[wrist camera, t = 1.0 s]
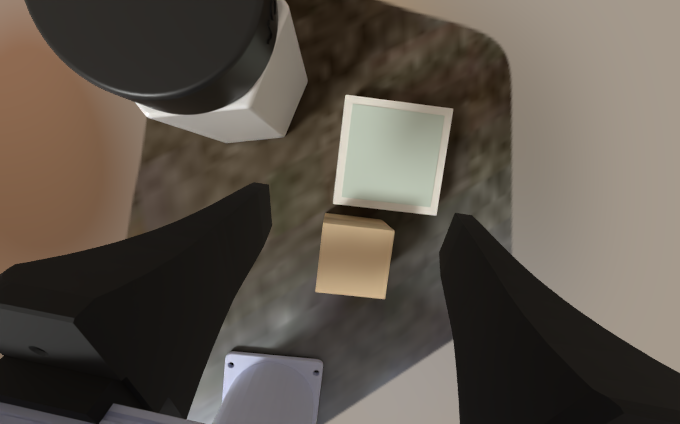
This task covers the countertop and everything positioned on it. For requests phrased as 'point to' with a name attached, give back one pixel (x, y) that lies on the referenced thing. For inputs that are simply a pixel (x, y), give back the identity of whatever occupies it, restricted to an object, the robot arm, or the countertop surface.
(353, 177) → the tile base
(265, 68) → the jar
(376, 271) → the oak block
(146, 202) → the countertop surface
